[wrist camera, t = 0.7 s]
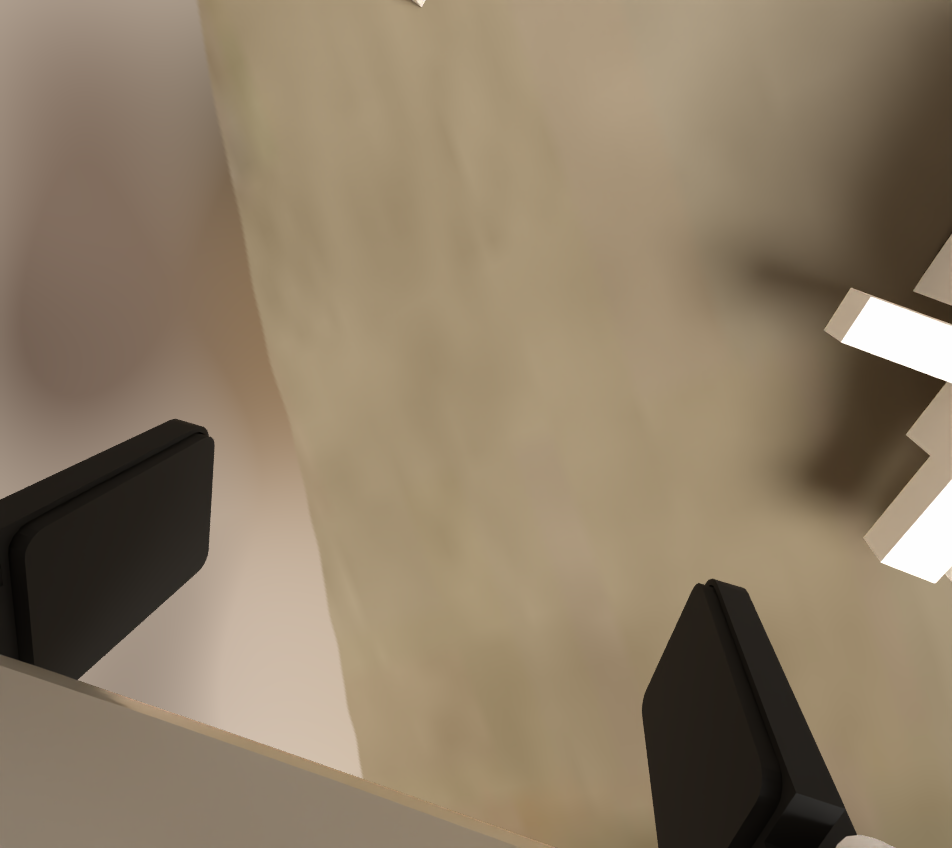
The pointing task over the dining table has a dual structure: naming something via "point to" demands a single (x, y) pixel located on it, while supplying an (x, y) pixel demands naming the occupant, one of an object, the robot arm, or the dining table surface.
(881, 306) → the blocky voxel creature
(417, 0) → the panel
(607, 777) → the dining table surface
